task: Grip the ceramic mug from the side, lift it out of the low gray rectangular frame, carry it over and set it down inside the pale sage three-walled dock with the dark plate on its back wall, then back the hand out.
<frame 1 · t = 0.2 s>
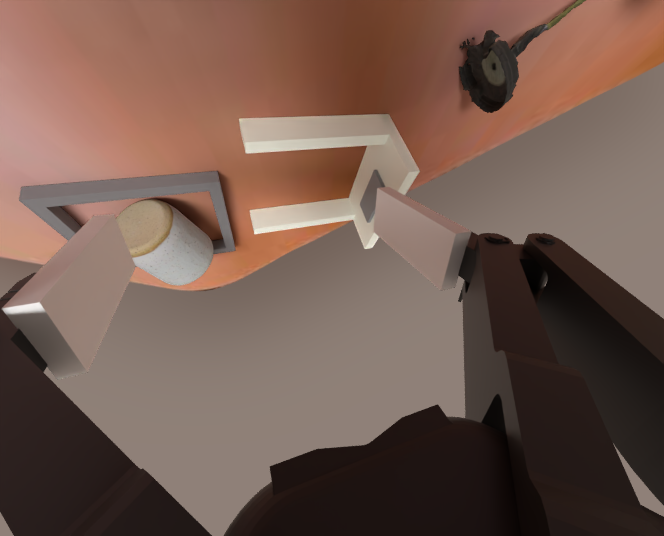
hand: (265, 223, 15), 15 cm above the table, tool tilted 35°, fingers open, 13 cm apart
gray rectangular frame: (155, 221, 34), on the table
mug dock: (306, 171, 33), on the table
ceramic mug: (153, 219, 34), on the table
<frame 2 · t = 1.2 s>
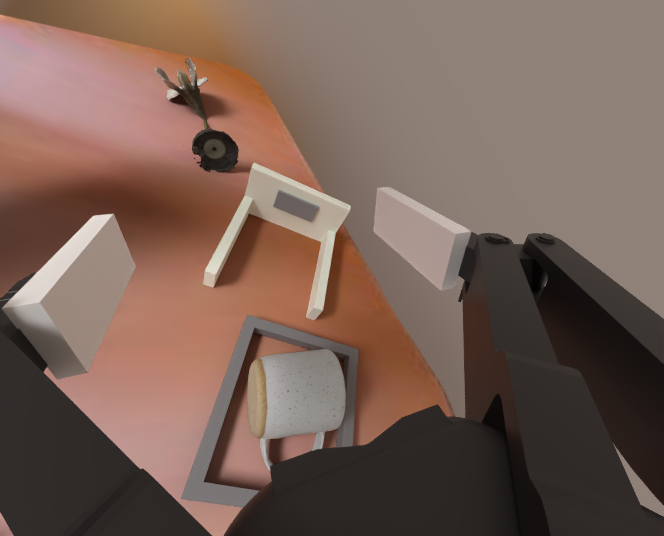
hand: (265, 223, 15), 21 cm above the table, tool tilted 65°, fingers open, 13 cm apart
gray rectangular frame: (287, 408, 30), on the table
artificial flower: (194, 128, 49), on the table
mug dock: (275, 261, 40), on the table
ceramic mug: (286, 413, 30), on the table
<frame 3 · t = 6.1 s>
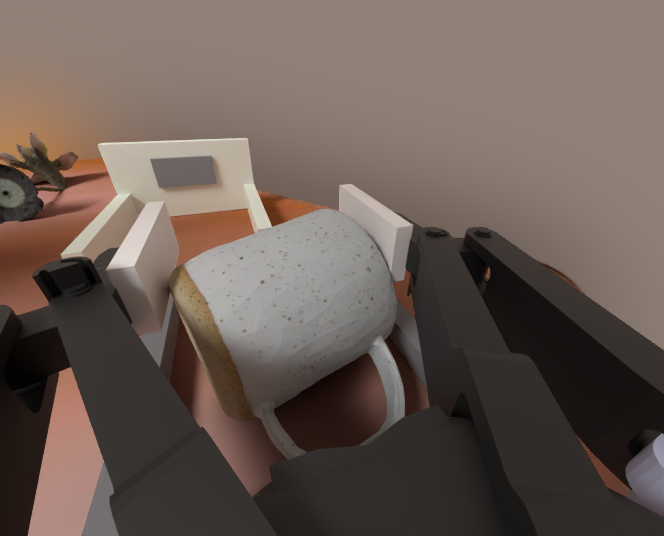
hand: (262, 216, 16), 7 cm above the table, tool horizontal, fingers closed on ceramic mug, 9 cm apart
gray rectangular frame: (288, 355, 16), on the table
artificial flower: (40, 198, 40), on the table
mug dock: (192, 237, 28), on the table
ceramic mug: (307, 376, 15), on the table, touching gripper
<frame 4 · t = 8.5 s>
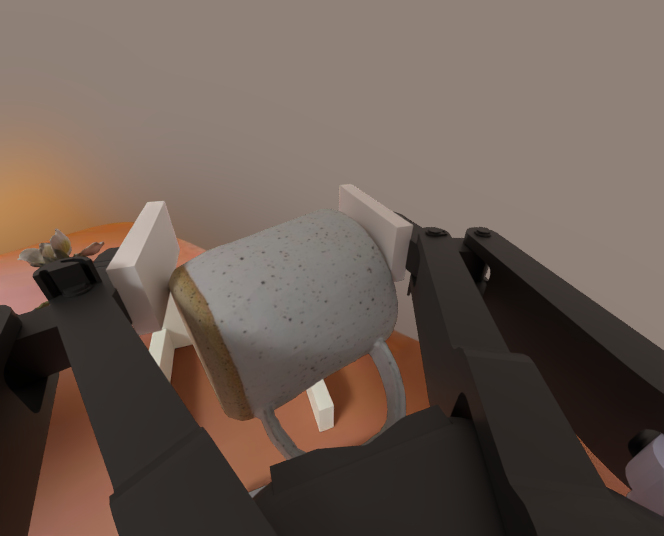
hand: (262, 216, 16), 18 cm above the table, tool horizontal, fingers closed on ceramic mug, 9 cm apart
artificial flower: (55, 303, 38), on the table
mug dock: (237, 384, 27), on the table
ceramic mug: (307, 376, 15), point 11 cm above the table, touching gripper
when the fingers open (8 cm above the table, at t = 11.5 s): ceramic mug drops 1 cm, on the table.
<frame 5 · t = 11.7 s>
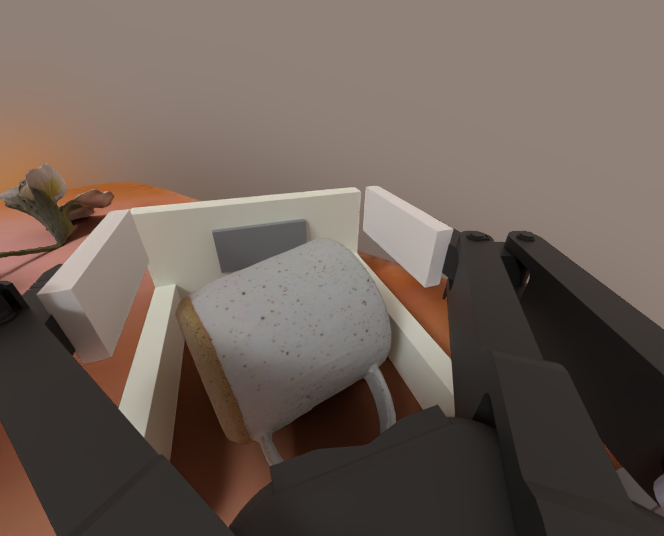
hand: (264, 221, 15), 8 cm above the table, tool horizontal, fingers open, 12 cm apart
artificial flower: (19, 260, 28), on the table
mug dock: (289, 372, 16), on the table
ceramic mug: (305, 397, 15), on the table
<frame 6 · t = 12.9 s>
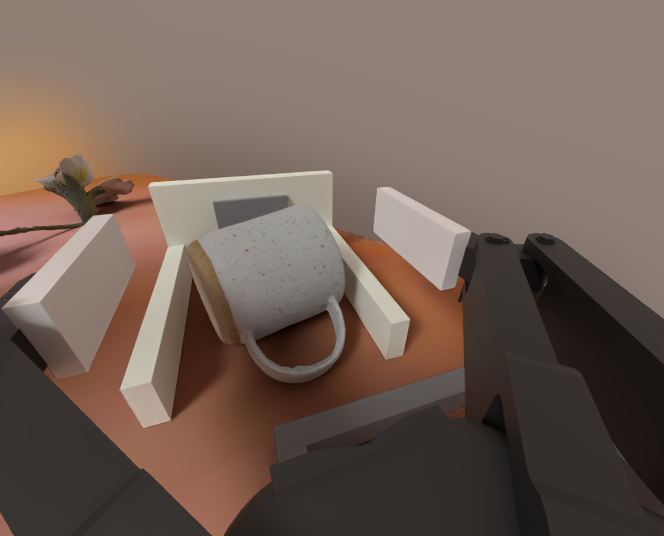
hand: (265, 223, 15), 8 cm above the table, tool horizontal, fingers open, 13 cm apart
artificial flower: (51, 234, 33), on the table
mug dock: (271, 309, 21), on the table
ceramic mug: (284, 327, 20), on the table
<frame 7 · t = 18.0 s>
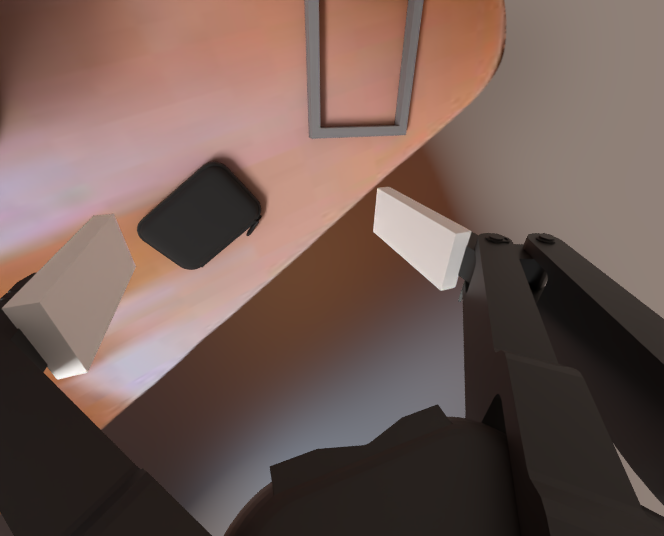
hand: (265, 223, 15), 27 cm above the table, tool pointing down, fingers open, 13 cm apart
gray rectangular frame: (360, 65, 36), on the table
carrying case or bag: (206, 217, 40), on the table
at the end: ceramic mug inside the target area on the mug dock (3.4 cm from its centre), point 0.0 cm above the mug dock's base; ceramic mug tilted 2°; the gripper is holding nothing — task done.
